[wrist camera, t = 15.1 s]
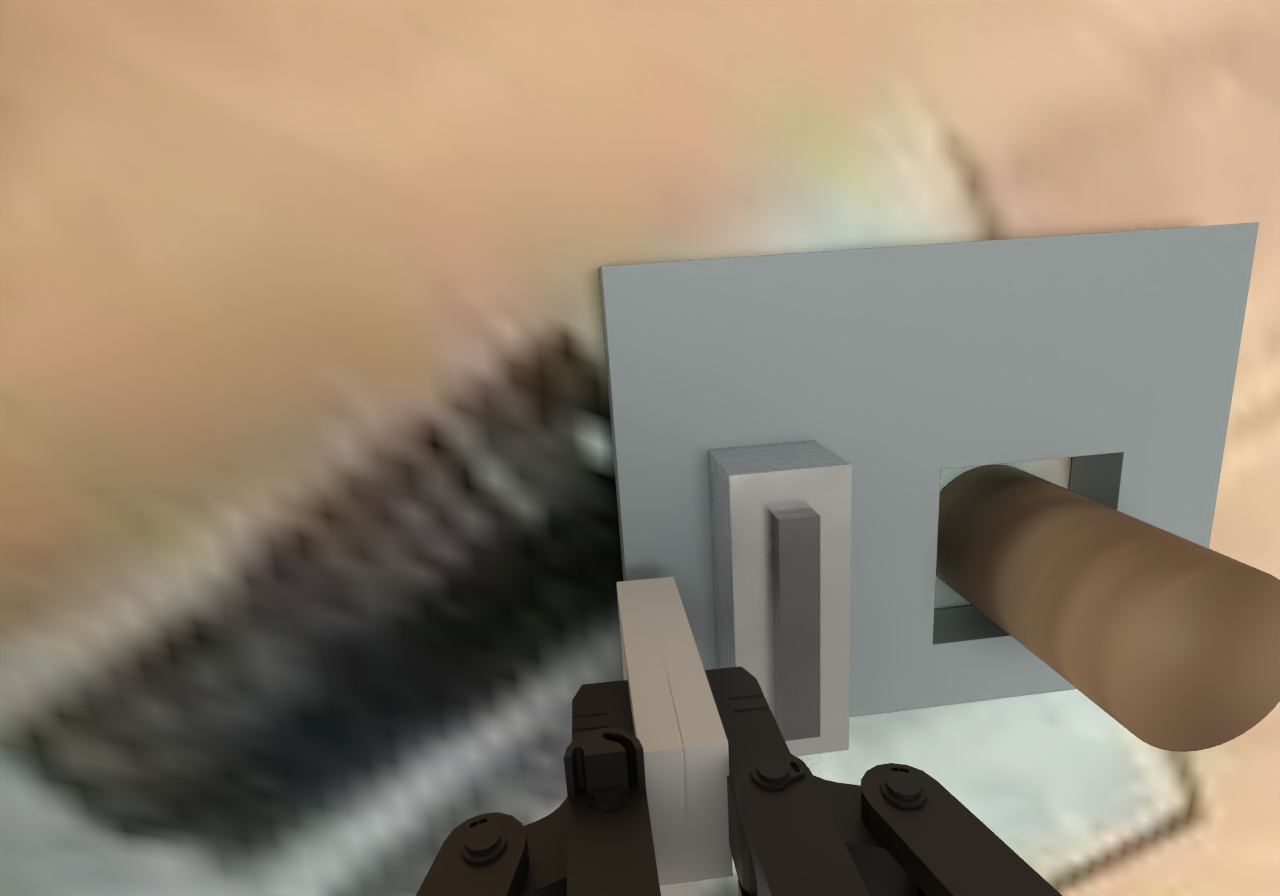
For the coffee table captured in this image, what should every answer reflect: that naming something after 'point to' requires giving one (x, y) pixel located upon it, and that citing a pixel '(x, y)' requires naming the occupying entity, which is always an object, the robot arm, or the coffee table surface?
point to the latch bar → (786, 582)
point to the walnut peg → (1116, 606)
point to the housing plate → (924, 411)
